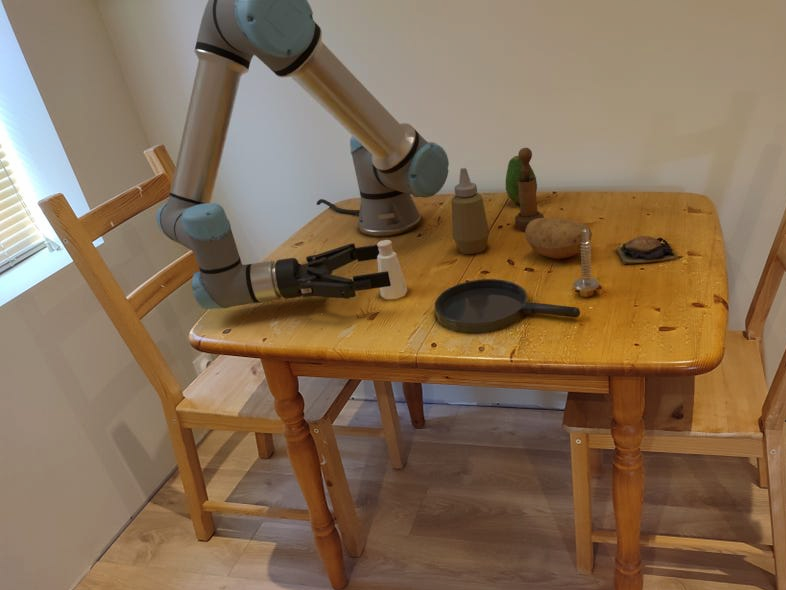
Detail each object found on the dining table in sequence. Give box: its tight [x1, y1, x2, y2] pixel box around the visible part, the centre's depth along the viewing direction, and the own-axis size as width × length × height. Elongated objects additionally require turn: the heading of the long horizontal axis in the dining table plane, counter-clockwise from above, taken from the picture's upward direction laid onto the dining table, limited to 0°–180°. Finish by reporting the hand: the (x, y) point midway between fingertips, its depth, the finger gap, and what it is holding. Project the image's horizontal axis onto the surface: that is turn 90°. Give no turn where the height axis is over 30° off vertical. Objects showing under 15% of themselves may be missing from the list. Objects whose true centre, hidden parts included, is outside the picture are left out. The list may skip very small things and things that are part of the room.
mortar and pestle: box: [514, 147, 544, 232], centre depth 148 cm, size 7×6×18 cm
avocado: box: [505, 155, 538, 205], centre depth 162 cm, size 8×8×12 cm
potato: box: [524, 217, 593, 260], centre depth 134 cm, size 10×14×8 cm
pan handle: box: [522, 301, 581, 319], centre depth 115 cm, size 11×2×2 cm, turn 66°
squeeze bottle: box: [451, 167, 490, 255], centre depth 139 cm, size 8×8×18 cm
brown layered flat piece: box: [616, 235, 676, 265], centre depth 132 cm, size 11×8×4 cm
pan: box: [434, 278, 529, 334], centre depth 120 cm, size 17×17×2 cm
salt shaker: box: [376, 239, 408, 300], centre depth 127 cm, size 5×5×11 cm
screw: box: [572, 228, 600, 298], centre depth 118 cm, size 13×5×5 cm
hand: (389, 263), depth 126 cm, fingers open, 13 cm apart
